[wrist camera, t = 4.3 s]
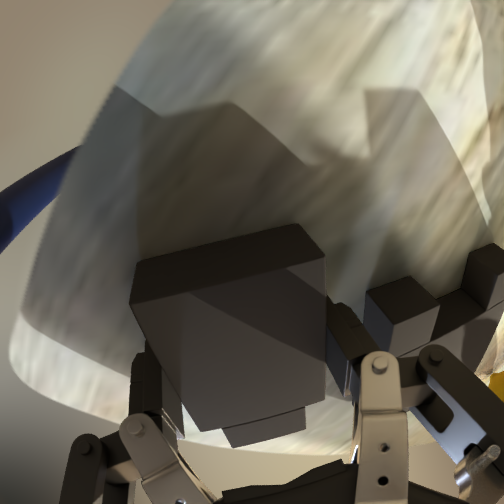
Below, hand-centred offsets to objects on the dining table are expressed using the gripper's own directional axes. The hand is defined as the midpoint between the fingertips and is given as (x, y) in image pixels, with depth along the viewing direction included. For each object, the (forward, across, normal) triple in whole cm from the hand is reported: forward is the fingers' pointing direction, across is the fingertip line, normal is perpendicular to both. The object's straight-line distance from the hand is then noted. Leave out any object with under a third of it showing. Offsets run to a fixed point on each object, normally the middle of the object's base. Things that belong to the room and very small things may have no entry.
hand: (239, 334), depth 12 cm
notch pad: (+1, -11, +5) cm, 12 cm away
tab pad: (+1, 0, +1) cm, 1 cm away
